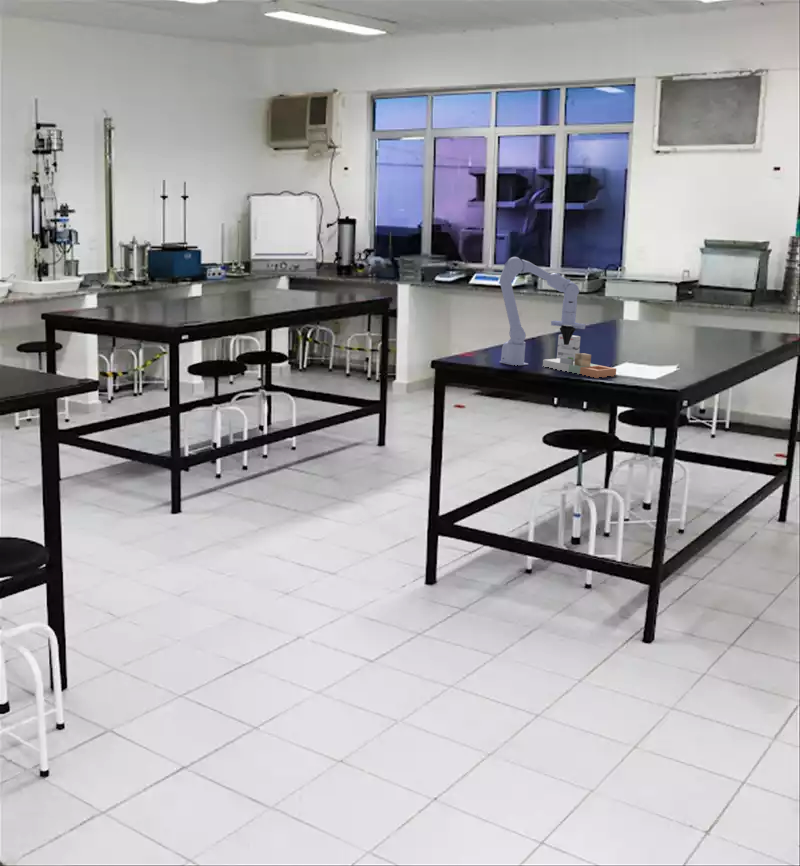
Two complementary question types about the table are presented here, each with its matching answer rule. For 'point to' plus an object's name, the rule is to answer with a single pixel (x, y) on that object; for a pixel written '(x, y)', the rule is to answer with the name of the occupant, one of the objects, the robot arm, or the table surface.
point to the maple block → (582, 359)
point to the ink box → (568, 347)
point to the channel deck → (579, 367)
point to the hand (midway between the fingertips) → (566, 344)
